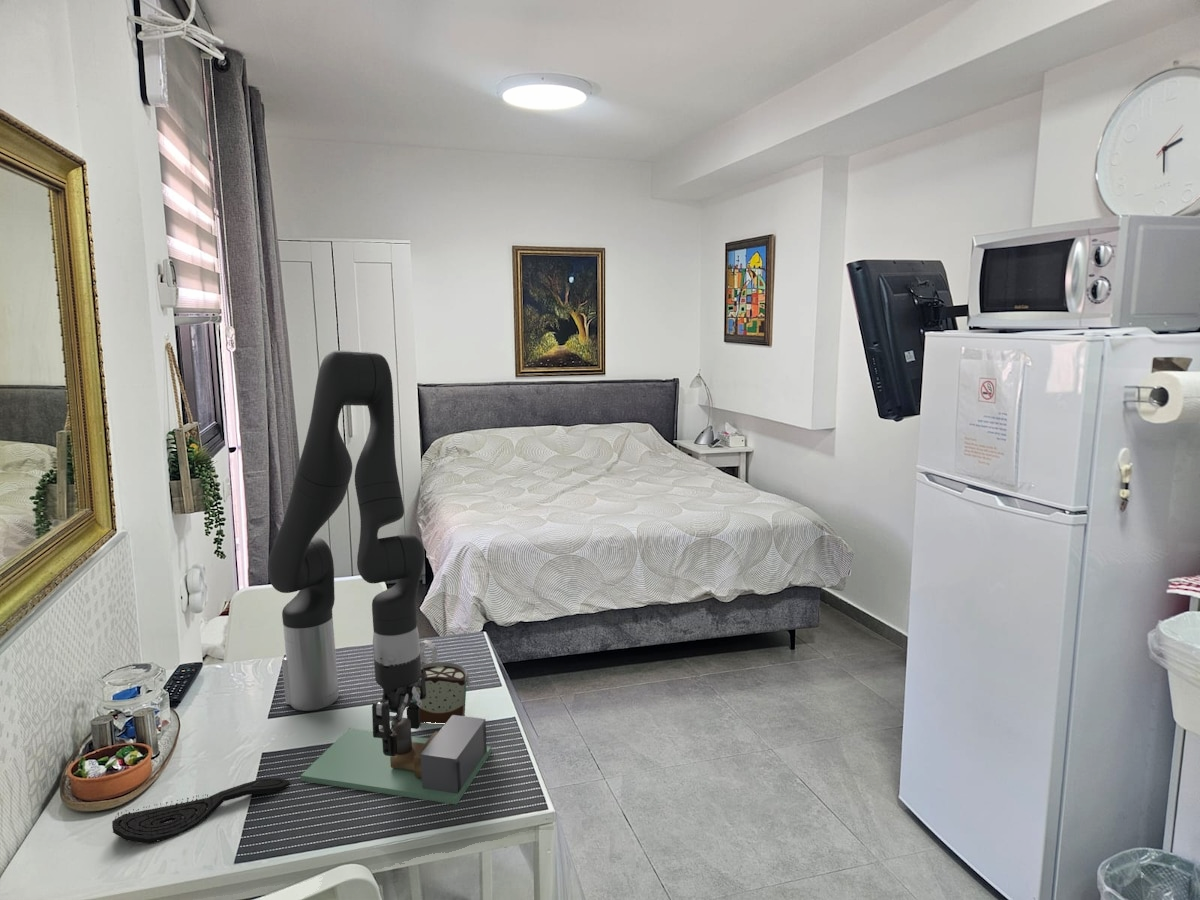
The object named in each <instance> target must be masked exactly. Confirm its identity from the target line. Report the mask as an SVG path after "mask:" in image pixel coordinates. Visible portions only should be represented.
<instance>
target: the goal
mask: <svg viewBox="0 0 1200 900" xmlns="http://www.w3.org/2000/svg"><path fill="white" fill-rule="evenodd" d="M486 722H487V721H486V718H482V717H474V716H473V717H472V716H457V715H452V716H451V717H450V719H449V720H448V721H447V722H446V723H445V725H442V727H441V728H440V730H439V731H437V732H438V733H437V735H436V736H435V737H434V738H433V739H432V741H431V742H430V743H429V744H428V746H427V747H426V748H425V749H424V751H423V752H422V753H421V754H420V755H421V772H422V788H423V789H430V790H437V791H443V792H450V793H457V794H458V793H459V791H460V790H461V788H462V787H463V785H464V784H465V782H466V781H467V780H468V778H469V777H470V775H471V774H472V772H473V771H474V769H475V768H476V766H477V765H478V763H479V762H480V760H481V759H482V757H483V756H484V754H485V753H486V751H487V746H488V745H487V723H486Z"/></svg>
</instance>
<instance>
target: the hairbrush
mask: <svg viewBox="0 0 1200 900" xmlns="http://www.w3.org/2000/svg"><path fill="white" fill-rule="evenodd" d="M289 786H290V781H289V779H285V778H280V777H271V778H268V777H267V778H259V779H255V780H253V781H248V782H246V783H242V784H239V785H236V786H233V787H231V788H227V789H224V790H220V791H219V792H217V793H215V794H213V795H208V794H202V797H203V798H199V795H195V796H196V799H194V798H195V797H194V796H192V798H193V799H191V800H190V801H189V797H186V802H183V801H184V798H182V801H181V802H179V803H178V801H179V800H178V799H176V803H175V804H170V805H164V806H161V805H162V803H161V802H160V807H154V808H151V809H147V808H150V805H148V806H146V809H145V806H143V810H140V808H138V809H137V811H135V809H134V808H133V810H132V811H133V812H130V811H129V812H128V813H123V812H120V814H121V815H120V814H119V812H117V817H115V818H114V820H112V822H111V824H112V826H111V827H112V831H113V832H112V833H113V834H115V835H116V836H118V837H119V838H121V839H122V840H124V841H127V842H133V843H141V844H146V845H147V844H148V845H151V844H155V843H161V842H163V841H165V840H169V839H171V838H174V837H177V836H180V835H182V834H184V833H185V832H187V831H190V830H192V829H194V828H196V827H197V826H198V825H200V824H202V823H203V822H205V821H206V820H207V819H208V818H209V817H210V816H211V815H212V814H213V813H214V812H215V811H216V810H217V809H218V808H219V807H220V806H221V805H222V804H224V802H227V801H231V800H235V799H238V798H241V797H245V796H250V795H252V796H253V795H261V794H264V795H265V794H272V793H277V792H282V791H284V790H285V789H287V787H289ZM204 796H206V797H204ZM198 798H199V799H198ZM171 803H173V800H171ZM165 804H168V801H166V802H165ZM155 806H158V803H156V804H155ZM139 810H140V811H139ZM125 812H127V809H125Z"/></svg>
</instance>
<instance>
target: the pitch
mask: <svg viewBox="0 0 1200 900" xmlns="http://www.w3.org/2000/svg"><path fill="white" fill-rule="evenodd" d="M411 737H412V742H418V743H426V742H427V740H428V739H429V738H427V737H426V738H425V737H419V736H412V735H411ZM491 753H492V746H488V745H487V751H486V753H485V754H484V756H483V757H482V759H481V760H480V762H479V763H478V765H477V766H476V768H475V769H474V771H473V772H472V774H471V775H470V777H469V778H468V780H467V781H466V782H465V784H464V785H463V787H462V788H461V790H460V791H459V793H458V794H457V793H450V792H443V791H437V790H430V789H423V788H422V778H420V777H415V771H412V770H405V769H398V768H391V762H390V756H386V755H384V753H383V743H382V738H374V737H373V730H365V729H359V728H352V727H349V728H348V729H346V731H345V732H344V733H343V734H342V735H340V736H339V738H338V739H336V741H334V743H332V744H331V745H330V747H328V748H327V749H326V750H325V751H324V752H323V753H322V754H321V755H320V756H319V757H318V758H317V759H316V760H315V761H314V762H313V763H312V764H311V765H310V766H309V767H308V768H307V769H306V770H304V772H303V773H302V774H301V775H300V780H301V781H302V782H307V783H313V784H319V785H324V786H325V785H326V786H333V787H339V788H344V789H345V788H347V789H353V790H360V791H364V790H365V792H372V793H378V794H384V795H393V796H399V797H404V798H410V799H411V798H412V799H419V800H423V801H424V800H425V801H430V802H431V801H432V802H438V803H444V804H451V805H458V804H459V802H460V800H461V799H462V797H463V796H464V795H465V793H466V792H467V789H468V788H469V787H470V785H471V784H472V782H473V780H474V779H475V778H476V776H477V774H479V771H480V770H481V769H482V767H483V766H484V764H485V762H486V761H487V759H488V758H489V756H490V755H491Z"/></svg>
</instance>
